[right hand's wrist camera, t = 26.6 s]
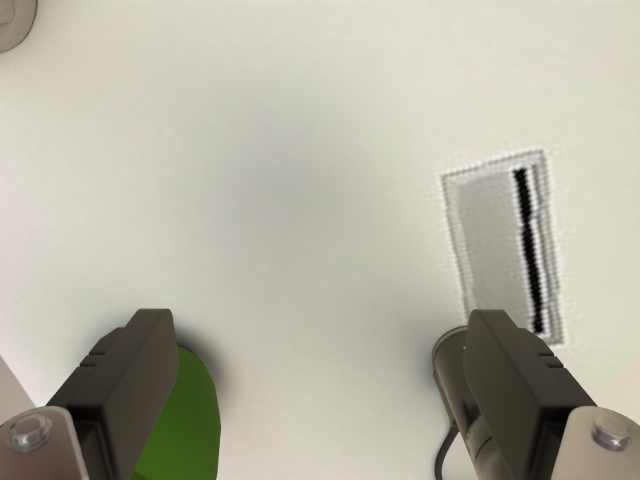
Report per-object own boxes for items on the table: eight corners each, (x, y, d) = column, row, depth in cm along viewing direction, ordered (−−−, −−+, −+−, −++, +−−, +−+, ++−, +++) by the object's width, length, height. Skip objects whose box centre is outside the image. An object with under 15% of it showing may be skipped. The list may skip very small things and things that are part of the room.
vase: (156, 439, 64) (67, 639, 42) (72, 343, 58) (-88, 518, 35) (268, 391, 61) (237, 580, 38) (191, 284, 55) (100, 434, 32)
